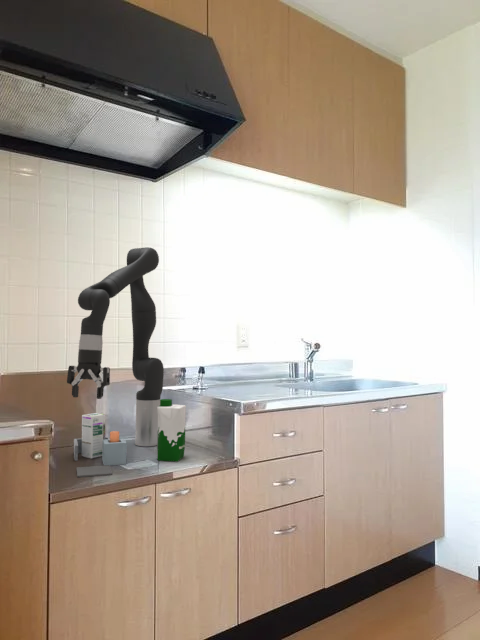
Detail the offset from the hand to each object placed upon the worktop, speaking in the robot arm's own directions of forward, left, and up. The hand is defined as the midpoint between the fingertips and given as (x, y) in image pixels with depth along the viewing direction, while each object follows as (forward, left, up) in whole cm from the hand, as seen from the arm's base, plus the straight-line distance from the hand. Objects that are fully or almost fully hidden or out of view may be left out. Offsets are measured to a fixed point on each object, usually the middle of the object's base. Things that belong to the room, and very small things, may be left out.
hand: (87, 398), depth 172 cm
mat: (-2, +13, -21) cm, 25 cm away
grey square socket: (-9, +3, -21) cm, 23 cm away
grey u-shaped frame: (-3, -8, -21) cm, 23 cm away
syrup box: (-3, -8, -21) cm, 23 cm away
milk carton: (-28, +3, -21) cm, 35 cm away
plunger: (-9, +3, -17) cm, 19 cm away
